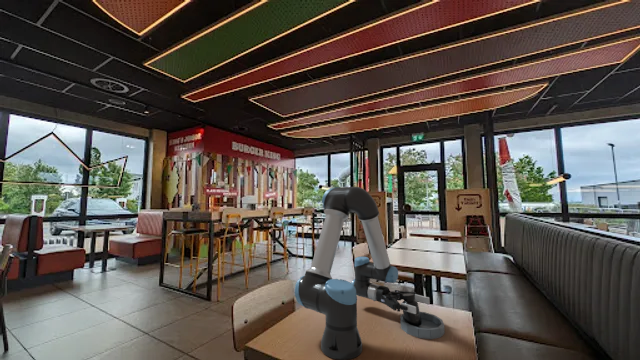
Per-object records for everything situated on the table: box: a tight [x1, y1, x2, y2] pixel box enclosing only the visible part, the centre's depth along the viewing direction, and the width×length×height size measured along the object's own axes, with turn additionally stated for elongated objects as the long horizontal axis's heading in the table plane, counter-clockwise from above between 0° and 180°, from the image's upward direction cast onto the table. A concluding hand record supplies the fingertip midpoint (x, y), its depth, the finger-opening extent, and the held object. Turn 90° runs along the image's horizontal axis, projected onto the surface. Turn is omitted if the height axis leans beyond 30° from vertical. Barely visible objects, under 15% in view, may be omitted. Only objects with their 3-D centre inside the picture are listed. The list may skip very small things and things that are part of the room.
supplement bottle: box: [401, 294, 422, 327], centre depth 113 cm, size 7×7×12 cm
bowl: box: [400, 311, 445, 340], centre depth 112 cm, size 17×17×4 cm
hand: (422, 305), depth 112 cm, fingers open, 13 cm apart
